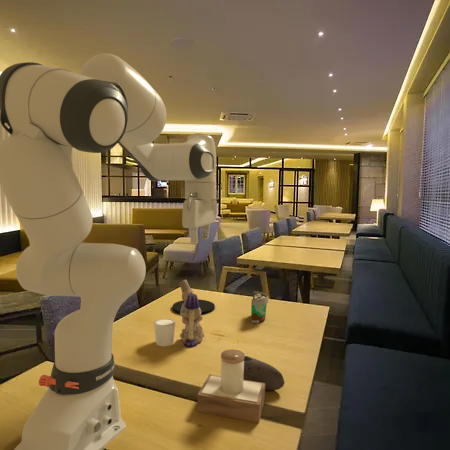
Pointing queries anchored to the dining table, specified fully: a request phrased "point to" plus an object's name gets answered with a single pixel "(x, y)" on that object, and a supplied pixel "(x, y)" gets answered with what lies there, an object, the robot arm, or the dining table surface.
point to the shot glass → (164, 332)
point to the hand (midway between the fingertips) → (199, 241)
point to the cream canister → (232, 371)
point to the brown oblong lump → (262, 373)
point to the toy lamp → (191, 318)
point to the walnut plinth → (232, 400)
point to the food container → (258, 307)
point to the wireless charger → (203, 304)
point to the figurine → (184, 313)
